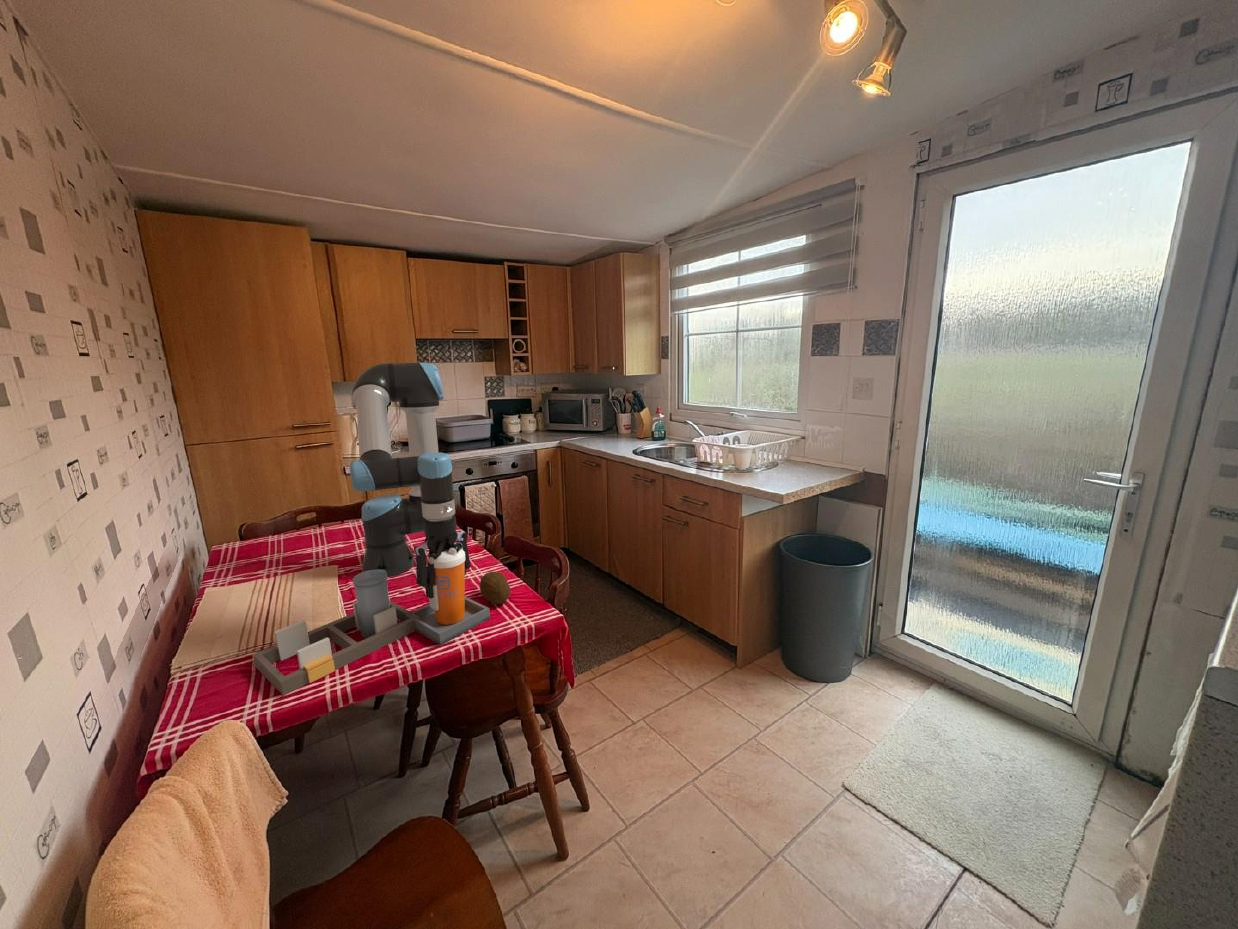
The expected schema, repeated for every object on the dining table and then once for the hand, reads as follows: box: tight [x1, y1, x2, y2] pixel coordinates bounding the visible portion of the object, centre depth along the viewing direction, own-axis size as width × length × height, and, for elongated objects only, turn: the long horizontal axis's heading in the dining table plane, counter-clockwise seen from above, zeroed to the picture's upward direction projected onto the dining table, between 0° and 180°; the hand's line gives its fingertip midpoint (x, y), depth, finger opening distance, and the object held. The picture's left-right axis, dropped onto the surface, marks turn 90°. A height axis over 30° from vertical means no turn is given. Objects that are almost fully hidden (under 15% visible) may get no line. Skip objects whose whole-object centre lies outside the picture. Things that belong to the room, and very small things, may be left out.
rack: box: [252, 599, 420, 696], centre depth 112 cm, size 16×30×7 cm, turn 144°
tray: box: [406, 596, 491, 646], centre depth 123 cm, size 15×15×3 cm
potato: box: [479, 571, 511, 605], centre depth 134 cm, size 8×12×8 cm, turn 42°
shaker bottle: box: [427, 541, 466, 625], centre depth 121 cm, size 9×9×20 cm
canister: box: [352, 569, 390, 639], centre depth 118 cm, size 7×7×15 cm
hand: (447, 602), depth 122 cm, fingers open, 6 cm apart
